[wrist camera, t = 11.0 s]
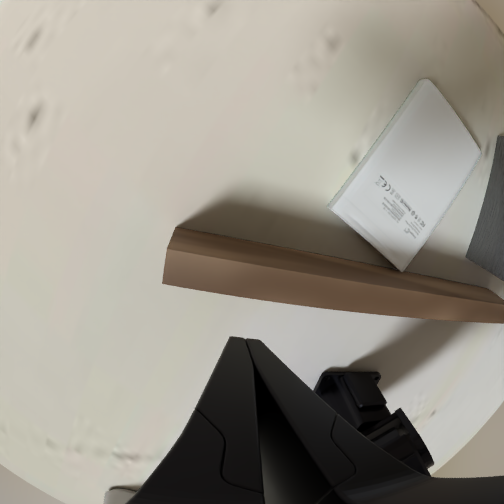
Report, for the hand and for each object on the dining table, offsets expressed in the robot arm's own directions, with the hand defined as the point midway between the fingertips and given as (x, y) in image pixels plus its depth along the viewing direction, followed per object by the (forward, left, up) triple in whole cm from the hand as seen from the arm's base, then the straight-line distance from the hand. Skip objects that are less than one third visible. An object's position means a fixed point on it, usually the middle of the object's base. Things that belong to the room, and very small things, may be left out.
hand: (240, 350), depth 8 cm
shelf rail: (-2, -13, -12) cm, 17 cm away
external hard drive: (+7, -13, -13) cm, 19 cm away
